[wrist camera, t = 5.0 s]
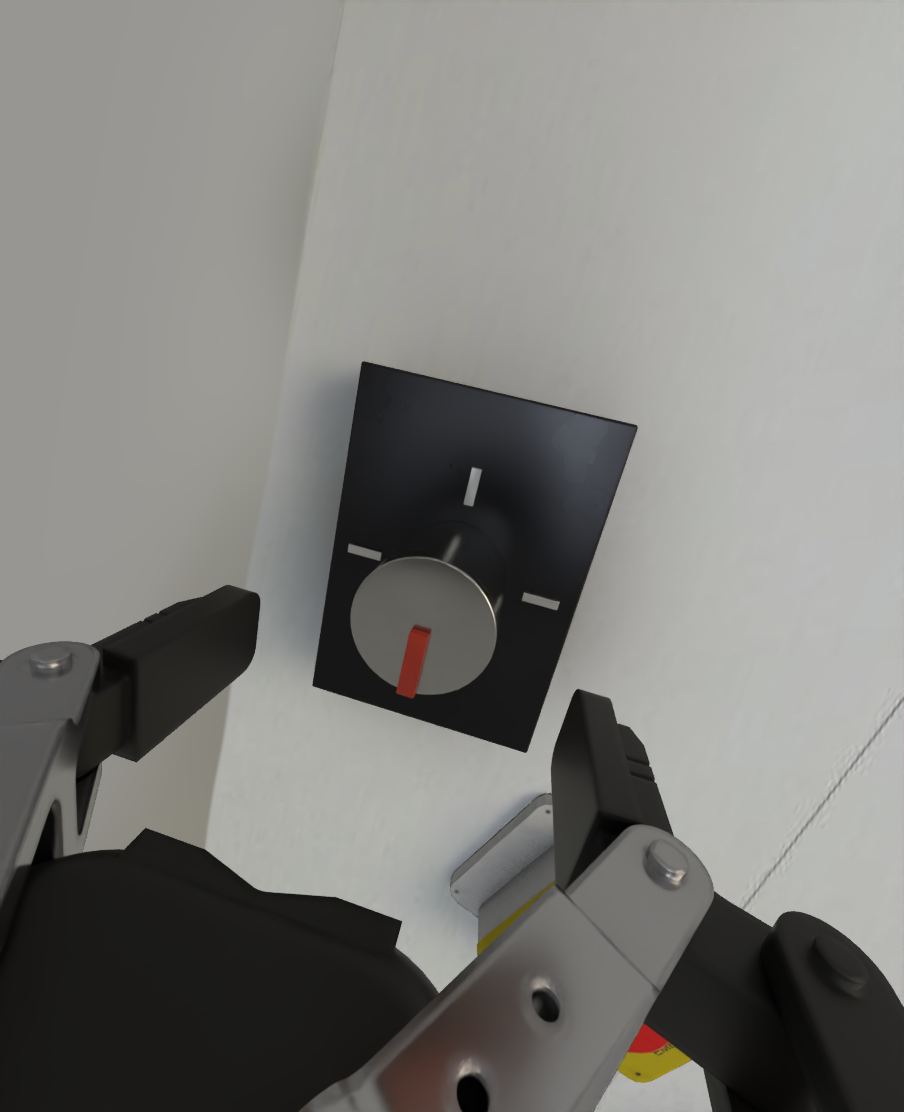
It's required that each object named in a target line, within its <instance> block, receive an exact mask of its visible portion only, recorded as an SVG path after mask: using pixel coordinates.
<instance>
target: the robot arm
mask: <svg viewBox="0 0 904 1112" xmlns="http://www.w3.org/2000/svg"><path fill="white" fill-rule="evenodd" d="M259 612H260V597H259V595H258V594H257V593H255V592H251V591H248V590H245V589H241V588H238V587H234V586H231V585H226V586H223V587H221V588H219V589H217V590H216V591H213V592H211V593H209V594H208V595H206V596H204V597H200V598H195V599H191V600H187V601H182V602H178V603H176V604H174V605H172V606H170V607H168V608H166V609H164V610H162V611H160V612H159V614H157V613H156V614H153V615H151V616H149V617H148V618H145V619H144V621H139V622H137V623H135V624H133V625H131V626H129V627H127V628H125V629H123V630H121V631H119V632H117V633H115V634H113V635H111V636H109V637H107V638H104V639H103V640H101V641H98V642H96V643H94V644H92V645H88V644H84V643H80V642H70V641H60V642H49V643H43V644H38V645H34V646H30V647H27V648H24V649H21V650H19V651H17V652H15V653H13V654H11V655H10V656H8V657H6V658H5V659H4V660H0V1112H594V1110H595V1108H596V1106H597V1105H598V1103H599V1101H600V1099H601V1098H602V1096H603V1094H604V1092H605V1091H606V1089H607V1087H608V1085H609V1084H610V1082H611V1080H612V1078H613V1077H614V1075H615V1073H616V1071H617V1070H618V1068H619V1066H620V1064H621V1063H622V1061H623V1059H624V1057H625V1056H626V1054H627V1052H628V1050H629V1049H630V1047H631V1045H632V1043H633V1042H634V1040H635V1038H636V1036H637V1035H638V1033H639V1031H640V1029H641V1028H642V1026H643V1024H645V1025H646V1026H648V1027H649V1028H650V1029H652V1030H653V1031H654V1032H656V1033H657V1034H658V1035H660V1036H661V1037H662V1038H664V1039H665V1040H666V1041H668V1042H669V1043H670V1044H672V1045H673V1046H674V1047H676V1048H677V1049H678V1050H680V1051H681V1052H682V1053H684V1054H685V1055H686V1056H688V1057H689V1058H690V1059H692V1060H693V1061H694V1062H695V1063H697V1064H698V1065H699V1066H701V1067H702V1068H703V1069H704V1074H705V1079H706V1083H707V1088H708V1093H709V1097H710V1102H711V1107H712V1111H713V1112H904V1007H903V1005H902V1004H901V1002H900V1000H899V999H898V997H897V995H896V993H895V992H894V990H893V988H892V987H891V985H890V984H889V982H888V981H887V979H886V978H885V976H884V975H883V974H882V972H881V971H880V970H879V968H878V967H877V966H876V965H875V964H874V963H873V961H872V960H871V959H870V958H869V957H868V956H867V955H866V954H865V953H864V952H863V951H862V950H861V949H860V948H859V947H858V946H857V945H855V944H854V943H853V942H852V941H851V940H850V939H849V938H847V937H846V936H845V935H843V934H842V933H841V932H839V931H838V930H836V929H835V928H833V927H832V926H830V925H829V924H827V923H825V922H824V921H822V920H820V919H818V918H816V917H813V916H811V915H808V914H805V913H802V912H796V911H791V912H786V913H783V914H782V915H781V916H780V917H779V918H778V920H777V921H776V923H775V924H774V926H773V927H771V926H769V925H767V924H766V923H764V922H762V921H761V920H759V919H757V918H756V917H754V916H752V915H751V914H749V913H747V912H746V911H744V910H742V909H741V908H739V907H737V906H736V905H734V904H732V903H730V902H729V901H727V900H726V899H724V898H723V897H721V896H720V895H719V894H717V893H716V892H715V891H714V888H713V883H712V880H711V877H710V875H709V873H708V871H707V869H706V868H705V866H704V865H703V863H702V862H701V861H700V859H699V858H698V857H697V856H696V855H695V854H694V853H693V852H692V850H691V849H690V848H688V847H687V846H686V845H685V844H684V843H683V842H681V841H680V840H679V839H677V838H676V837H674V835H673V832H672V829H671V826H670V823H669V820H668V817H667V814H666V811H665V808H664V805H663V802H662V799H661V796H660V793H659V790H658V787H657V784H656V783H655V782H654V780H655V778H654V775H653V772H652V769H651V767H649V764H650V763H649V760H648V757H647V754H646V751H645V748H644V745H643V744H642V742H641V741H640V740H639V739H638V737H637V736H636V735H635V734H634V732H633V731H632V730H631V729H630V727H627V726H624V725H621V724H617V721H616V717H615V714H614V710H613V706H612V702H611V700H610V699H609V698H607V697H603V696H600V695H597V694H593V693H590V692H586V691H583V690H580V689H577V690H576V691H575V693H574V694H573V697H572V699H571V702H570V705H569V708H568V710H567V713H566V716H565V719H564V722H563V724H562V727H561V730H560V733H559V735H558V738H557V741H556V744H555V748H554V752H553V757H552V764H551V783H552V808H553V834H554V860H555V885H553V886H552V887H550V888H549V889H547V890H546V891H545V892H544V893H543V894H542V895H541V896H540V897H539V898H538V899H537V900H536V901H535V902H534V903H533V904H532V905H531V906H529V907H528V908H527V909H526V910H525V911H524V912H523V913H522V914H521V915H520V916H519V917H518V918H517V919H516V920H515V921H514V922H513V923H512V924H511V925H510V926H509V927H508V928H507V929H506V930H505V931H503V932H502V933H501V934H500V935H499V936H498V937H497V938H496V939H495V940H494V941H493V942H492V943H491V944H490V945H489V946H488V947H487V948H486V949H485V950H484V951H483V952H482V953H481V954H480V955H479V956H477V957H476V958H475V959H474V960H473V961H472V962H471V963H470V964H469V965H468V966H467V967H466V968H465V969H464V970H463V971H462V972H461V973H460V974H459V975H458V976H457V977H456V978H455V979H454V980H453V981H452V982H450V983H449V984H448V985H447V986H446V987H445V988H444V989H443V990H442V991H441V992H440V993H438V991H437V990H436V988H435V987H434V985H433V984H432V983H431V982H430V980H429V979H428V978H427V977H426V975H425V974H424V973H423V972H422V971H421V970H420V969H419V968H418V967H417V966H416V965H415V964H414V963H413V962H412V961H411V960H410V959H409V958H408V957H407V956H406V955H405V954H403V953H402V952H401V951H400V950H398V949H397V948H396V947H395V946H396V942H397V938H398V935H399V931H400V927H401V924H402V921H400V920H397V919H394V918H391V917H389V916H386V915H383V914H380V913H378V912H375V911H372V910H369V909H367V908H364V907H361V906H358V905H356V904H353V903H350V902H348V901H345V900H342V899H339V898H337V897H325V896H312V895H299V894H286V893H273V892H264V891H260V890H257V889H256V888H254V887H252V886H251V885H250V884H249V883H247V882H246V881H245V880H244V879H242V878H241V877H240V876H238V875H237V874H236V873H235V872H233V871H232V870H231V869H229V868H228V867H227V866H226V865H224V864H223V863H222V862H221V861H219V860H218V859H217V858H215V857H214V856H213V855H212V854H210V853H209V852H208V851H206V850H205V849H202V848H199V847H196V846H194V845H191V844H188V843H186V842H183V841H180V840H177V839H175V838H172V837H169V836H166V835H164V834H161V833H158V832H155V831H153V830H150V829H147V828H145V829H144V830H143V831H142V832H141V833H140V834H139V835H138V836H137V837H136V838H135V839H134V840H133V841H132V842H131V843H130V845H128V846H127V848H126V849H125V850H120V849H118V850H99V851H91V852H84V853H83V850H84V846H85V842H86V838H87V833H88V829H89V825H90V821H91V817H92V812H93V808H94V804H95V800H96V796H97V792H98V788H99V783H100V779H101V775H102V761H104V760H105V759H106V758H108V757H109V756H110V755H111V754H114V755H117V756H120V757H123V758H125V759H128V760H131V761H134V762H137V761H139V760H140V759H141V758H142V757H143V756H145V755H146V754H147V753H148V752H149V751H150V750H151V749H153V748H154V747H155V746H156V745H158V744H159V743H160V742H161V741H162V740H164V739H165V738H166V737H167V736H168V735H170V734H171V733H172V732H173V731H174V730H175V729H177V728H178V727H179V726H180V725H181V724H183V723H184V722H185V721H186V720H187V719H189V718H190V717H191V716H192V715H193V714H195V713H196V712H197V711H198V710H199V709H201V708H202V707H203V706H204V705H205V704H207V703H208V702H209V701H210V700H211V699H212V698H214V697H215V696H216V695H217V694H218V693H219V692H221V691H222V690H223V689H224V688H226V687H227V686H228V685H229V684H230V683H232V682H233V681H234V680H235V679H236V678H237V677H239V676H240V675H241V674H242V673H243V672H244V671H245V670H246V669H247V668H248V666H249V665H250V663H251V661H252V659H253V656H254V653H255V649H256V640H257V631H258V621H259Z"/></svg>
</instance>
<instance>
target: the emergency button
mask: <svg viewBox="0 0 904 1112" xmlns="http://www.w3.org/2000/svg"><path fill="white" fill-rule="evenodd" d="M553 885H555V860H554V834H553V808H552V795H549V794H544V795H542V796H540V797H538V798H536V799H535V800H534V801H533V802H532V803H531V804H530V805H528V806H527V807H526V808H525V809H524V810H523V811H522V812H521V813H520V814H518V815H517V816H516V817H515V818H514V819H513V820H512V821H511V822H510V823H508V824H507V825H506V826H505V827H504V828H503V829H502V830H501V831H500V832H498V833H497V834H496V835H495V836H494V837H493V838H492V839H491V840H490V841H488V842H487V843H486V844H485V845H484V846H483V847H482V848H481V849H480V850H478V851H477V852H476V853H475V854H474V855H473V856H472V857H471V858H470V859H468V860H467V861H466V862H465V863H464V864H463V865H462V866H461V867H460V868H458V869H457V870H456V871H455V872H454V874H453V876H452V878H451V884H450V892H451V896H452V897H453V898H454V900H455V901H456V902H457V903H458V904H460V905H461V906H462V907H464V908H465V909H466V910H468V911H469V912H470V913H472V914H473V915H474V916H476V917H477V918H478V944H477V955H478V956H479V955H480V954H481V953H482V952H483V951H484V950H485V949H486V948H487V947H488V946H489V945H490V944H491V943H492V942H493V941H494V940H495V939H496V938H497V937H498V936H499V935H500V934H501V933H502V932H503V931H505V930H506V929H507V928H508V927H509V926H510V925H511V924H512V923H513V922H514V921H515V920H516V919H517V918H518V917H519V916H520V915H521V914H522V913H523V912H524V911H525V910H526V909H527V908H528V907H529V906H531V905H532V904H533V903H534V902H535V901H536V900H537V899H538V898H539V897H540V896H541V895H542V894H543V893H544V892H545V891H546V890H547V889H549V888H550V887H552V886H553ZM691 1060H692V1059H690V1058H689V1057H688V1056H686V1055H685V1054H684V1053H682V1052H681V1051H680V1050H678V1049H677V1048H676V1047H674V1046H673V1045H672V1044H670V1043H669V1042H668V1041H666V1040H665V1039H664V1038H662V1037H661V1036H660V1035H658V1034H657V1033H656V1032H654V1031H653V1030H652V1029H650V1028H649V1027H648V1026H646V1025H645V1024H643V1026H642V1028H641V1029H640V1031H639V1033H638V1035H637V1036H636V1038H635V1040H634V1042H633V1043H632V1045H631V1047H630V1049H629V1050H628V1052H627V1054H626V1056H625V1057H624V1059H623V1061H622V1063H621V1064H620V1066H619V1068H618V1071H619V1072H620V1073H622V1074H623V1075H624V1076H626V1077H627V1078H629V1079H631V1080H633V1081H635V1082H643V1083H646V1082H649V1081H653V1080H655V1079H657V1078H659V1077H661V1076H663V1075H664V1074H666V1073H668V1072H670V1071H672V1070H674V1069H676V1068H678V1067H680V1066H682V1065H683V1064H685V1063H687V1062H689V1061H691Z"/></svg>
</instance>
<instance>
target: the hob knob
mask: <svg viewBox="0 0 904 1112" xmlns="http://www.w3.org/2000/svg"><path fill="white" fill-rule="evenodd" d="M506 585H507V569H506V565H505V561H504V558H503V556H502V554H501V552H500V550H499V548H498V547H497V546H496V544H495V543H494V542H493V541H492V540H491V538H490V537H488V536H487V535H486V534H485V533H483V532H482V531H480V530H479V529H477V528H475V527H473V526H471V525H468V524H465V523H461V522H455V521H443V522H437V523H433V524H430V525H427V526H425V527H423V528H421V529H420V530H418V531H417V532H416V533H414V534H413V535H412V536H411V537H410V538H409V539H408V540H407V541H406V542H404V543H403V544H402V545H401V546H400V547H399V548H398V549H397V550H396V551H394V552H393V553H392V554H391V555H390V556H389V557H388V558H387V559H386V560H385V561H383V562H382V563H381V564H380V565H379V566H378V567H377V568H376V569H375V570H373V571H372V572H371V573H370V574H369V575H368V576H367V577H366V578H365V579H364V581H363V582H362V583H361V585H360V586H359V588H358V590H357V592H356V594H355V597H354V599H353V603H352V607H351V616H350V617H351V630H352V635H353V639H354V642H355V645H356V647H357V649H358V651H359V653H360V655H361V656H362V658H363V660H364V661H365V662H366V663H367V665H368V666H369V667H370V668H371V669H372V670H373V671H374V672H375V673H376V674H377V675H378V676H379V677H381V678H382V679H383V680H385V681H386V682H388V683H389V684H391V685H393V686H395V687H397V691H396V693H397V694H400V695H403V696H406V697H410V698H414V696H415V694H424V695H437V694H444V693H449V692H452V691H455V690H458V689H460V688H462V687H464V686H466V685H468V684H469V683H471V682H472V681H473V680H475V679H476V678H477V677H478V676H479V675H480V674H481V673H482V672H483V670H484V669H485V668H486V667H487V665H488V663H489V661H490V660H491V658H492V655H493V652H494V650H495V645H496V640H497V635H498V629H499V624H500V618H501V613H502V607H503V602H504V596H505V591H506Z"/></svg>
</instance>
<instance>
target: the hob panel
mask: <svg viewBox="0 0 904 1112" xmlns="http://www.w3.org/2000/svg"><path fill="white" fill-rule="evenodd" d="M637 429H638V426H637V425H634V424H629V423H625V422H621V421H617V420H612V419H608V418H604V417H600V416H595V415H591V414H587V413H582V412H578V411H574V410H570V409H565V408H561V407H557V406H553V405H548V404H544V403H540V402H536V401H531V400H527V399H523V398H518V397H514V396H510V395H506V394H501V393H497V392H493V391H489V390H484V389H480V388H476V387H472V386H467V385H463V384H459V383H454V382H450V381H446V380H442V379H437V378H433V377H429V376H425V375H420V374H416V373H412V372H408V371H403V370H399V369H395V368H390V367H386V366H382V365H378V364H373V363H369V362H365V361H364V362H362V364H361V371H360V377H359V384H358V390H357V397H356V403H355V410H354V416H353V423H352V429H351V436H350V443H349V449H348V456H347V462H346V469H345V475H344V482H343V488H342V495H341V501H340V508H339V515H338V521H337V528H336V534H335V541H334V547H333V554H332V560H331V567H330V573H329V580H328V587H327V593H326V600H325V606H324V613H323V619H322V626H321V632H320V639H319V645H318V652H317V659H316V665H315V672H314V678H313V686H314V687H317V688H320V689H323V690H326V691H330V692H333V693H336V694H339V695H342V696H346V697H349V698H352V699H355V700H358V701H362V702H365V703H368V704H371V705H374V706H378V707H381V708H384V709H387V710H390V711H394V712H397V713H400V714H403V715H406V716H409V717H413V718H416V719H419V720H422V721H425V722H429V723H432V724H435V725H438V726H441V727H445V728H448V729H451V730H454V731H457V732H461V733H464V734H467V735H470V736H473V737H477V738H480V739H483V740H486V741H489V742H493V743H496V744H499V745H502V746H505V747H508V748H512V749H515V750H518V751H521V752H524V753H526V752H527V751H528V748H529V745H530V742H531V739H532V736H533V733H534V730H535V727H536V724H537V721H538V719H539V716H540V713H541V710H542V707H543V704H544V701H545V698H546V695H547V692H548V689H549V686H550V683H551V680H552V678H553V675H554V672H555V669H556V666H557V663H558V660H559V657H560V654H561V651H562V648H563V645H564V642H565V639H566V637H567V634H568V631H569V628H570V625H571V622H572V619H573V616H574V613H575V610H576V607H577V604H578V601H579V599H580V596H581V593H582V590H583V587H584V584H585V581H586V578H587V575H588V572H589V569H590V566H591V563H592V560H593V558H594V555H595V552H596V549H597V546H598V543H599V540H600V537H601V534H602V531H603V528H604V525H605V522H606V519H607V517H608V514H609V511H610V508H611V505H612V502H613V499H614V496H615V493H616V490H617V487H618V484H619V481H620V479H621V476H622V473H623V470H624V467H625V464H626V461H627V458H628V455H629V452H630V449H631V446H632V443H633V440H634V438H635V435H636V432H637ZM443 521H455V522H461V523H465V524H468V525H471V526H473V527H475V528H477V529H479V530H480V531H482V532H483V533H485V534H486V535H487V536H488V537H490V538H491V540H492V541H493V542H494V543H495V544H496V546H497V547H498V548H499V550H500V552H501V554H502V556H503V558H504V561H505V565H506V569H507V585H506V591H505V596H504V602H503V607H502V613H501V618H500V624H499V629H498V635H497V640H496V645H495V650H494V652H493V655H492V658H491V660H490V661H489V663H488V665H487V667H486V668H485V669H484V670H483V672H482V673H481V674H480V675H479V676H478V677H477V678H476V679H475V680H473V681H472V682H471V683H469V684H468V685H466V686H464V687H462V688H460V689H458V690H455V691H452V692H449V693H444V694H437V695H424V694H415V696H414V698H410V697H406V696H403V695H400V694H397V693H396V691H397V687H395V686H393V685H391V684H389V683H388V682H386V681H385V680H383V679H382V678H381V677H379V676H378V675H377V674H376V673H375V672H374V671H373V670H372V669H371V668H370V667H369V666H368V665H367V663H366V662H365V661H364V660H363V658H362V656H361V655H360V653H359V651H358V649H357V647H356V645H355V642H354V639H353V635H352V630H351V617H350V616H351V607H352V603H353V599H354V597H355V594H356V592H357V590H358V588H359V586H360V585H361V583H362V582H363V581H364V579H365V578H366V577H367V576H368V575H369V574H370V573H371V572H372V571H373V570H375V569H376V568H377V567H378V566H379V565H380V564H381V563H382V562H383V561H385V560H386V559H387V558H388V557H389V556H390V555H391V554H392V553H393V552H394V551H396V550H397V549H398V548H399V547H400V546H401V545H402V544H403V543H404V542H406V541H407V540H408V539H409V538H410V537H411V536H412V535H413V534H414V533H416V532H417V531H418V530H420V529H421V528H423V527H425V526H427V525H430V524H433V523H437V522H443Z"/></svg>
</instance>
